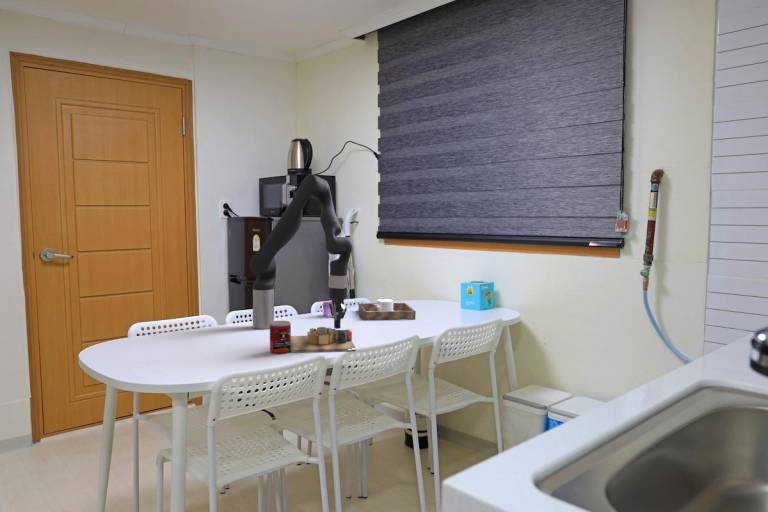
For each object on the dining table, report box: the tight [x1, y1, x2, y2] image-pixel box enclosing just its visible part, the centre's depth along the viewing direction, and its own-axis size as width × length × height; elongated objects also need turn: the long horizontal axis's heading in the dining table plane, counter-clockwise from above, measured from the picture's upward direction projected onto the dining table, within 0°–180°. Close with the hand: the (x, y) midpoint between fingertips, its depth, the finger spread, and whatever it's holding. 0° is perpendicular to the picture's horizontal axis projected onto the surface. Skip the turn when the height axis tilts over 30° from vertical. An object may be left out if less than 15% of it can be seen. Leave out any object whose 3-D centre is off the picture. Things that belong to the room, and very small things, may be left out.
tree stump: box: [373, 298, 394, 312], centre depth 292 cm, size 20×19×8 cm
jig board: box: [290, 326, 356, 354], centre depth 228 cm, size 24×24×6 cm
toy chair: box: [322, 299, 332, 316], centre depth 288 cm, size 8×9×15 cm
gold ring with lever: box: [306, 327, 353, 345], centre depth 229 cm, size 11×18×5 cm, turn 103°
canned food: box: [269, 320, 292, 355], centre depth 215 cm, size 8×8×11 cm
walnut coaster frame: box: [358, 302, 417, 321], centre depth 294 cm, size 25×26×4 cm
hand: (337, 328), depth 236 cm, fingers closed
